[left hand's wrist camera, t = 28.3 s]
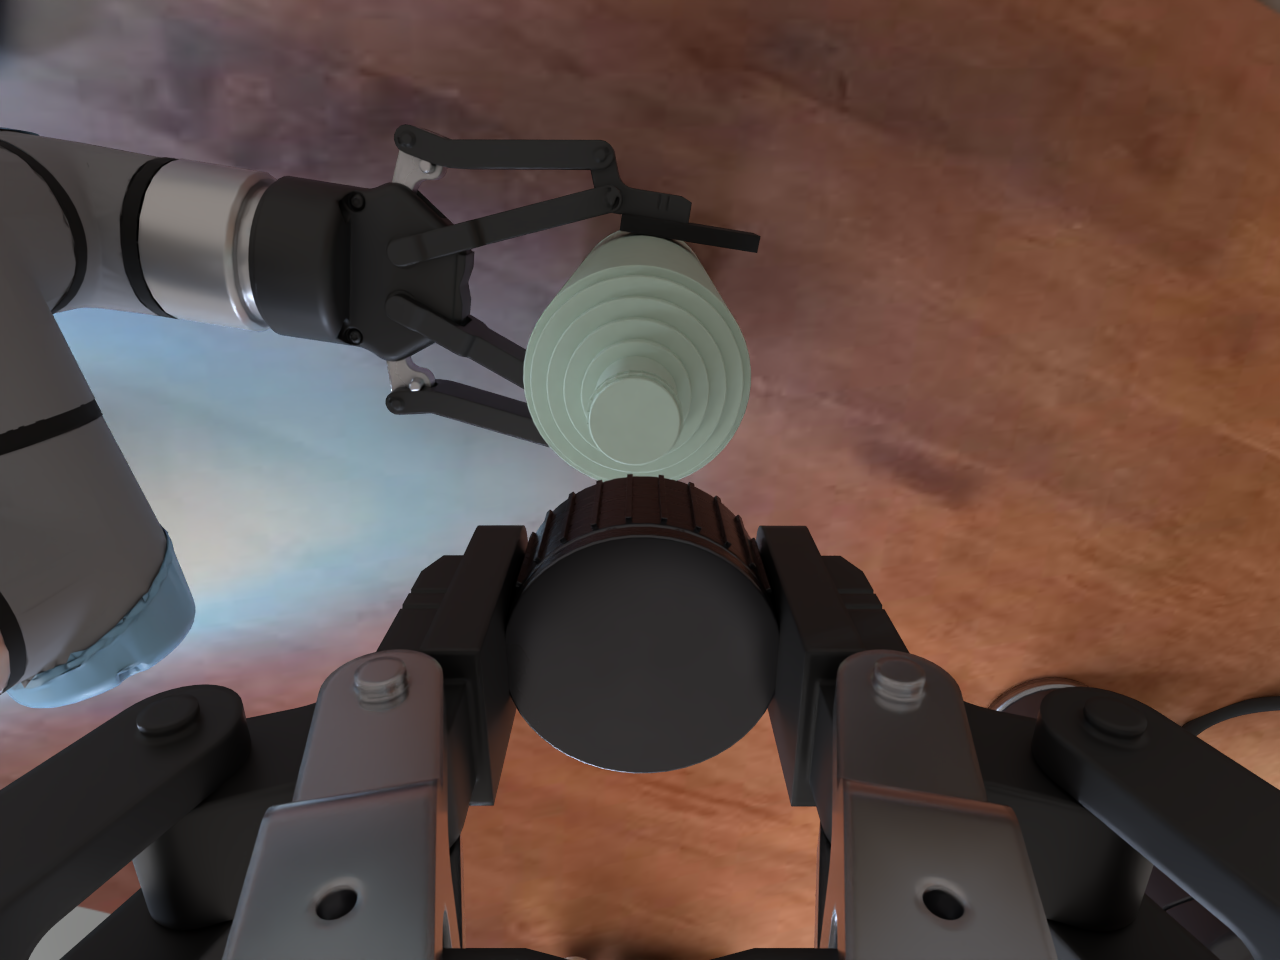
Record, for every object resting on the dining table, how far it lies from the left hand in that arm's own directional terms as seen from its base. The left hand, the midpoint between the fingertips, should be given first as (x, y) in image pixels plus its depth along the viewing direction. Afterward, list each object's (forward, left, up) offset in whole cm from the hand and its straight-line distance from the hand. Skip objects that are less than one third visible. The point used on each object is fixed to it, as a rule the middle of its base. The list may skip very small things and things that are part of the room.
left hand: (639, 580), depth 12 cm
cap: (0, 0, +2) cm, 2 cm away
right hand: (-5, 0, -28) cm, 28 cm away
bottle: (0, 0, -34) cm, 34 cm away
